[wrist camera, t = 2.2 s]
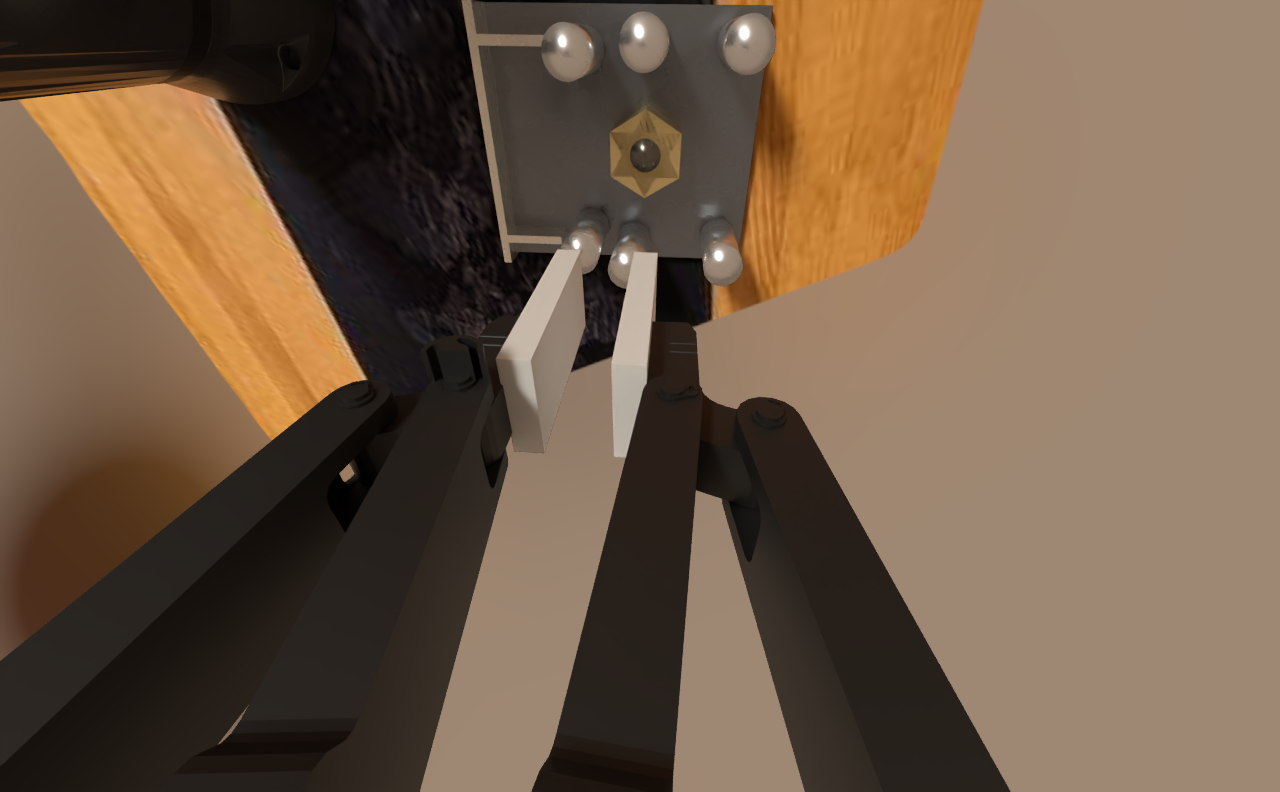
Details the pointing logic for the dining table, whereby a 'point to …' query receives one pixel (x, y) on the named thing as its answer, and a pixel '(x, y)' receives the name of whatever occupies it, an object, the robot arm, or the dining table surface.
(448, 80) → the dining table surface
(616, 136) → the nut
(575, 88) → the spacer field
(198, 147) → the dining table surface
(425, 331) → the dining table surface
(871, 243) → the dining table surface
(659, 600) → the robot arm
